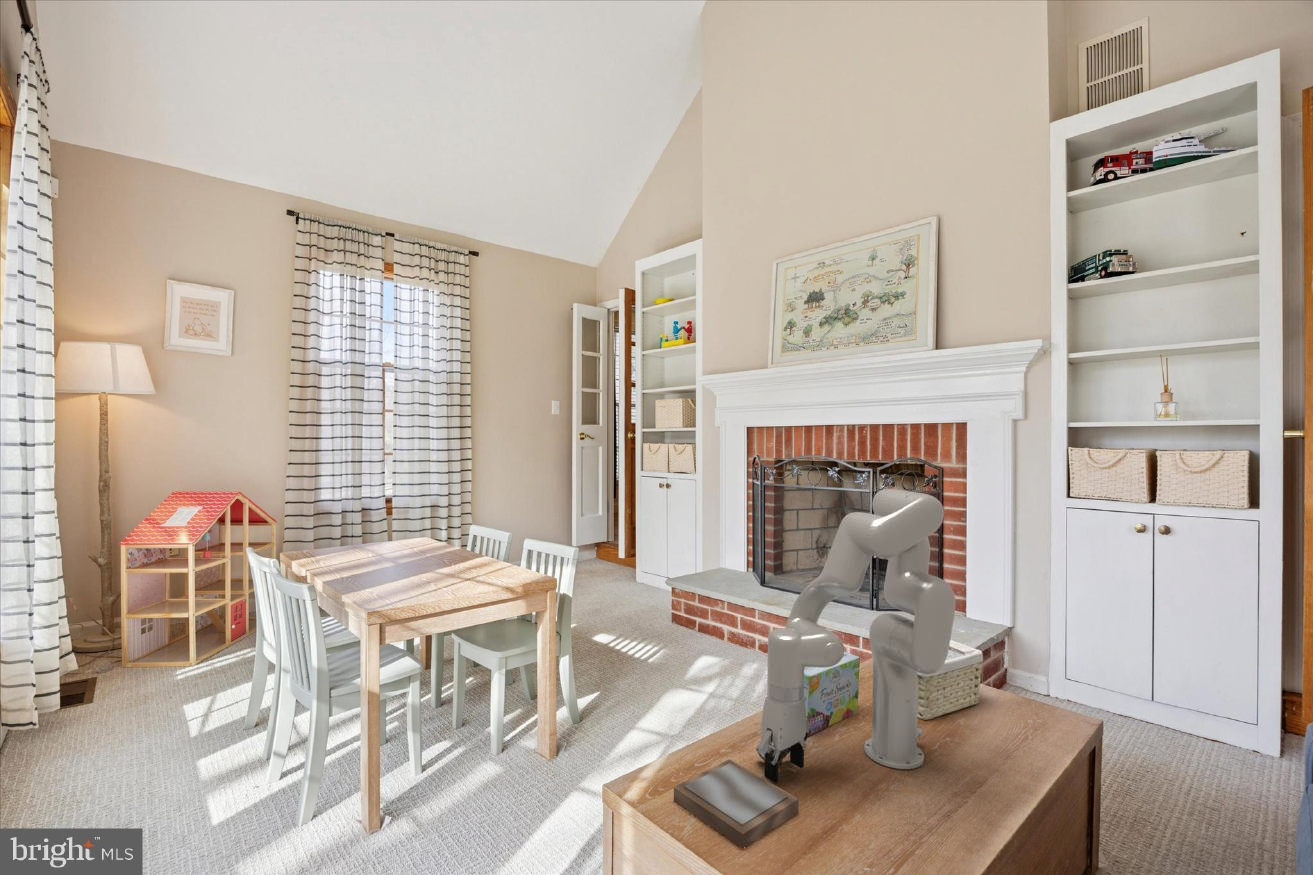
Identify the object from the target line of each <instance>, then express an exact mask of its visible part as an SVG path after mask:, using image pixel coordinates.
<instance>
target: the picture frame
mask: <svg viewBox="0 0 1313 875" xmlns="http://www.w3.org/2000/svg"><path fill="white" fill-rule="evenodd" d="M799 800H800V799H799V798H798V797H796V796H795V795H793V794H791V793H789V792H787V791H786V790H784V789H782V788H781V787H779V786H777V785H775V783H773V782H771V781H769V780H768V779H765V778H763V777H761V776H760V775H757V774H756V773H754V772H752V771H751V770H749V769H747V768H746V767H744V766H742V765H740V764H738V763H737V762H735V761H733V760H732V759H730V758H729V759H727V760H725V761H723V762H721V763H719V764H717V765H715V766H713V767H711V768H709V769H707V770H705V771H703V772H701V773H699V774H697V775H695V776H693V777H691V778H689V779H687V780H685V781H683V782H681V783H680V784H679V783H678V784H677V785H676V786H673V801H674V802H675V803H676V804H678V805H679V806H681V807H682V808H683V809H685V810H686V811H687V812H689V813H690V812H691V813H690V814H692V815H693V816H695V817H696V818H698V819H699V820H700V819H701V820H700V821H702V820H703V821H702V822H704V823H705V824H706V825H707V824H708V825H707V826H709V827H710V826H711V829H713V830H715V832H718V833H719V834H720V835H721V836H723V837H724V838H726V839H728V840H729V841H730V842H732V843H733V844H734V845H736V846H737V847H738V848H740V847H741V848H740V849H741V850H743V848H744V847H745V848H747V847H748V846H750V845H751V844H753V843H755V842H756V841H758V840H759V839H761V838H762V837H764V836H765V835H766V833H767V834H768V833H770V832H771V831H773V830H774V829H776V828H778V827H779V826H781V825H782V824H783V823H785V822H786V821H788V820H790V819H791V818H792V817H794V816H796V815H797V814H799V808H800V807H799V804H800V803H799ZM769 831H770V832H769ZM749 844H750V845H749ZM745 848H744V849H745Z"/></svg>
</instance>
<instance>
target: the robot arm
mask: <svg viewBox="0 0 1313 875" xmlns="http://www.w3.org/2000/svg"><path fill="white" fill-rule="evenodd" d="M872 510H873V513H874V514H873V513H868V512H862V511H861V512H860V511H856V512H850V513H848V514H846V515H845V516H844V517H843V519H842V520H841V522H840V524H839V527H838V528H837V531H836V535H835V537H834V540H833V542H832V545H831V546H830V550H829V553H828V556H827V557H826V560H825V563H824V566H823V569H822V570H821V573H820V574H819V575H818V577H816V578H815V579H814V580H812V581H811V582H810V583H809V584H808V585H807V586H806V587H805V588H804V589H803V590H802V591H801V592H800V593H799V595H798V596H797V598H796V599H795V601H794V603H793V606H792V608H791V611H790V613H789V616H788V619H787V621H786V624H785V627H782V628H774V629H772V630H771V631H770V632H769V634H768V637H767V681H766V682H767V685H766V686H767V688H766V690H767V691H766V692H767V693H766V694H767V695H766V697H765V699H764V702H763V707H762V715H761V723H760V724H761V725H760V741H759V743H758V744H757V746H756V748H757V750H758V751H759V753H760V756H761V757H762V758H763V759H762V758H761V757H760V756H759V757H760V758H761V759H762V761H763V760H765V761H764V779H765V778H766V780H767V781H769V782H771V783H773V784H777V783H779V771H780V770H779V769H780V768H779V764H778V763H776V762H777V759H778V757H779V754H780V751H782V750H784V749H786V748H788V747H790V752H789V760H791V761H790V764H792V765H794V766H795V767H798V768H799V769H803V768H804V767H805V749H806V747H807V744H806V741H807V739H808V737H809V736H808V732H809V729H810V726H811V723H810V722H808V721H807V720H806V707H805V699H804V667H831V666H834V665H836V664H837V663H839V662H840V660H841V659H842V658H843V655H844V652H845V646H844V642H843V641H842V639H841V638H840V637H839V636H838V635H837V634H835V632H832V631H831V630H829V629H827V628H826V627H824V626H821V625H819V624H818V621H819V619H820V617H821V614H822V612H823V610H824V609H825V607H826V606H828V604H829V603H830V602H832V601H833V600H835V599H837V598H840V597H843V596H847V595H850V594H851V595H852V594H854V593H856V592H859V591H860V590H861V588H862V585H863V582H864V579H865V577H866V573H867V571H868V568H869V566H870V564H871V560H872V558H873V556H874V557H877V558H882V559H888V561H887V564H886V565H887V567H886V573H885V579H884V585H883V597H884V599H885V601H886V602H887V604H889V605H890V606H891V607H893V608H895V609H897V610H900V611H902V612H904V613H907V614H909V615H912V616H914V619H910V618H908V617H905V616H903V615H900V614H896V613H893V612H891V613H890V612H889V613H888V612H887V613H886V612H885V613H882V614H880V615H878V616H876V617H875V618H874V619H873V621H872V623H871V625H870V627H869V635H868V636H869V637H868V639H869V644H870V645H869V646H870V649H871V650H870V651H871V656H872V703H871V704H872V710H871V712H872V713H871V714H872V715H871V737H870V738H868V739H866V741H865V742H864V752H865V754H866V755H867V756H868V757H869V758H870V759H871V760H873V762H875V763H878V764H880V765H883V766H885V767H888V768H892V769H898V770H913V769H916V768H919V767H920V766H922V765H924V762H925V755H924V752H923V750H922V749H921V748H920V747H919V746H918V744H917V743H918V739H919V738H920V737H921V736H923V735H924V731H923V729H922V728H921V727H918V717H917V713H918V676H917V671H918V672H920V673H923V674H933V673H936V672H937V671H938V670H940V669H941V667H942V666H943V665H944V663H945V661H946V658H947V657H948V654H949V651H950V650H949V644H950V640H951V637H952V631H953V626H954V620H955V612H956V597H955V593H954V591H953V589H952V587H951V585H950V584H949V583H948V582H946V580H944V579H942V578H940V577H938V576H936V575H931V574H929V567H930V558H931V545H930V539H929V536H932V535H933V534H934V533H935V532H937V530H938V529H939V528H940V527H941V525H942V524H943V521H944V517H945V510H944V506H943V503H941V501H940V500H939V499H938V498H936V497H934V496H933V495H930V494H927V493H923V492H921V493H920V492H915V491H907V490H904V489H896V488H885V489H881V490H879V491H878V492H876V493H875V494H874V496H873V498H872ZM773 745H775V747H774V746H773ZM771 749H773V750H775V751H774V754H773V757H772V756H771V754H770V751H771ZM757 750H756V751H757ZM758 751H757V752H758Z"/></svg>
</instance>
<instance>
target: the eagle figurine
mask: <svg viewBox="0 0 1313 875" xmlns="http://www.w3.org/2000/svg"><path fill="white" fill-rule="evenodd" d="M772 746H774V747H775V745H774V744H772ZM755 750H756V751H757V753H758V755H759V757H760V758H761V759H762V761H763V762H765V760H763V758H762V757H761V756H760V753H759V751H758V750H757V747H756V748H755ZM774 751H775V750H773V749H771V751H770V754H771V756H772V757H773V754H774ZM788 754H789V755H790V747H788V748H786V749H784V750H782V751H780V754H779V757H778V759H777V762H776V763H778V764H779V769H784V770H788V771H789V772H791V773H793V772H798V769H795V768H791V767H789V765H790V764H791V763H790V761H791V760H790V759H788V760H786V761H783V760H784V759H786V758H787V756H788Z"/></svg>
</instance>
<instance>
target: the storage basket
mask: <svg viewBox="0 0 1313 875" xmlns="http://www.w3.org/2000/svg"><path fill="white" fill-rule="evenodd" d="M948 651H952V652H955V653H957V654H959V655H961V656H958V657H955V658H953V657H950V656H947V658H946V661H945V663H944V665H943V666H942V667H941V669H940V670H938V671H937V672H936V673H933V674H923V673H920V672H918V671H917V676H918V713H917V719H922V720H923V721H927V720H932V719H935V718H937V717H940V716H943V715H946V714H949V713H953V712H954V711H959V710H961V709H965V708H968V707H970V706H973V705H977V704H978V703H980V701H979V698H980V689H981V688H980V684H981V679H982V678H981V675H982V669H983V664H984V663H983V661H984V656H983V655H984V654H983V652H982V650H980V649H977V648H975V647H973V646H972V647H971V646H969V645H967V644H964V643H960V642H958V641H955V640H953V639H950V644H949V650H948Z"/></svg>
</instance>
